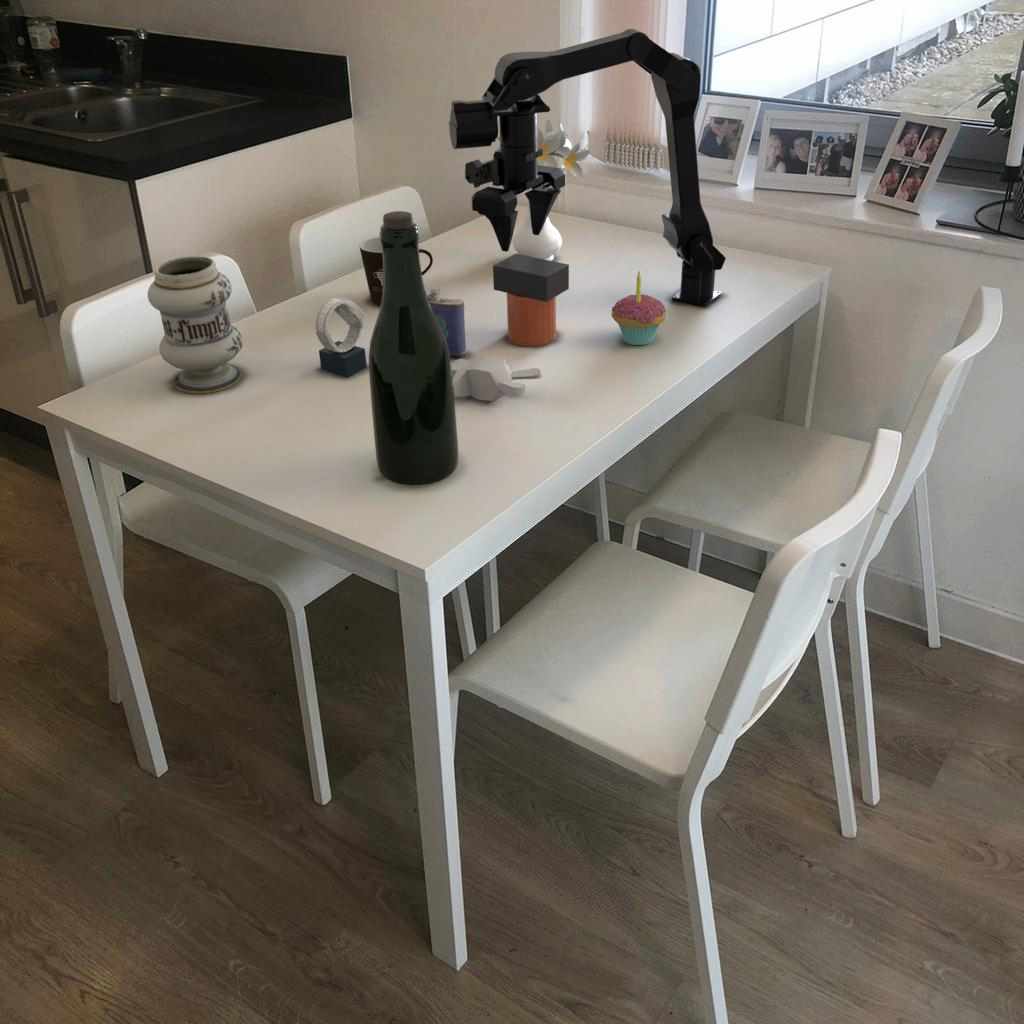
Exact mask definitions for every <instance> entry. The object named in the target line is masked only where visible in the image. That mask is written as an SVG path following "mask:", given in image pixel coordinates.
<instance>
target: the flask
mask: <svg viewBox="0 0 1024 1024" xmlns="http://www.w3.org/2000/svg"><path fill="white" fill-rule="evenodd" d="M441 291H442V290H441V288H440V287H439V286H436V287H435V288H434V287H432V288H430V289H428V292H429V294H427V297H428V300H429V303H430V305H431V307H432V309H433V311H434V314H435V316H436V318H437V320H438V322H439V324H440V326H441V328H442V330H443V333H444V335H445V338H446V341H447V345H448V348H449V353H450V359H464V357H466V355H467V343H466V342H467V341H466V327H465V324H466V323H465V302H464V301H463V300H462V299H458V298H447V297H445V298H444V297H440V293H439V292H441Z"/></svg>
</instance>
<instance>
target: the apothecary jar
mask: <svg viewBox="0 0 1024 1024" xmlns="http://www.w3.org/2000/svg"><path fill="white" fill-rule="evenodd" d="M232 291H233V287H232V283H231V281H230V279H229V278H228V277H227V276H226V275H225V274H223V273H222V272H220V271H219V270H218V268H217V265H216V262H215V260H214V259H213V258H211V257H208V256H203V255H199V256H198V255H187V256H179V257H174V258H170V259H167V260H164V261H163V262H161V263H159V264H158V265H157V266H155V268H154V280H153V282H152V283H151V284H150V285H149V287H148V290H147V300H148V302H149V304H150V305H151V306H152V307H153V308H154V309H156V310H157V311H158V312H159V314H160V317H161V321H162V322H161V323H162V327H163V333H164V336H163V337H162V339H161V340H160V342H159V345H158V350H159V354H160V356H161V358H162V359H163V360H164V361H165V363H167V364H168V365H170V366H172V367H173V368H176V369H179V370H181V371H180V372H179V373H177V374H176V376H175V377H174V382H175V384H174V385H175V388H176V389H177V390H179V391H181V392H185V393H189V394H196V395H197V394H198V395H199V394H200V395H201V394H210V393H211V394H212V393H216V392H219V391H223V390H226V389H228V388H230V387H232V386H234V385H236V384H237V382H239V380H241V377H242V373H241V371H240V368H238V367H236V366H235V365H232V364H230V363H229V362H231V360H233V359H234V358H236V356H238V354H239V353H240V352H241V350H242V348H243V345H244V343H243V342H244V341H243V340H244V339H243V336H242V334H241V332H240V331H239V330H238V328H236V327H235V326H234V325H233V324H232V323H231V319H230V314H229V311H228V306H227V301H228V300H229V298H230V297H231V295H232Z"/></svg>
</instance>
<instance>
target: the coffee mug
mask: <svg viewBox="0 0 1024 1024" xmlns="http://www.w3.org/2000/svg"><path fill="white" fill-rule="evenodd" d="M358 247H359V252H360V256H361V260H362V264H363V265H362V266H363V270H364V274H365V278H366V284H367V287H368V293H369V296H370V301H371V303H372V304H373V305H375V306H379V307H380V305H381V300H382V294H383V256H382V245H381V241H380V236H374V237H370V238H367V239H364V240H362V241H361V242H360V243H359V245H358ZM419 254H424V255H426V256H427V257H428V258H429V264H428V266H427V267H426V268H425V269H424V270H421V272H422V277H423V276H425V274H426V273H427V272H428V271H429V270H430V269H431V267H432V266H433V262H434V259H433V255H432V253H431V252H430V251H429V250H427V249H423V248H419Z"/></svg>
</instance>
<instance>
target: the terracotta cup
mask: <svg viewBox="0 0 1024 1024" xmlns="http://www.w3.org/2000/svg"><path fill="white" fill-rule="evenodd" d="M506 311H507V315H506V316H507V317H506V318H507V338H508V340H509V342H511V343H512V344H514V345H517V346H520V347H540V346H541V347H542V346H545V345H548V344H550V343H552V342H554V341H555V339H556V338H557V296H556V297H554V298H552V299H551V300H549V301H547V302H545V301H541V300H537V299H532V298H528V297H523V296H519V295H515V294H510V293H506Z"/></svg>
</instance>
